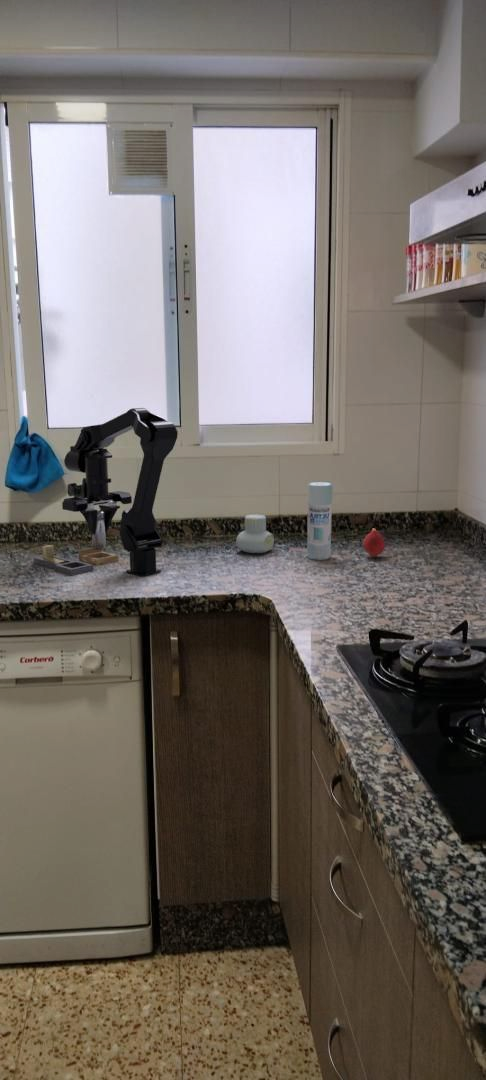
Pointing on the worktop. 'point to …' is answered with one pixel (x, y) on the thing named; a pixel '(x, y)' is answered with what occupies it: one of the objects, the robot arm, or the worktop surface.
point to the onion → (374, 543)
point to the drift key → (50, 554)
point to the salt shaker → (99, 532)
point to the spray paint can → (319, 520)
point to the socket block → (65, 565)
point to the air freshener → (255, 535)
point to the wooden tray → (96, 556)
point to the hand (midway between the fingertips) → (98, 533)
